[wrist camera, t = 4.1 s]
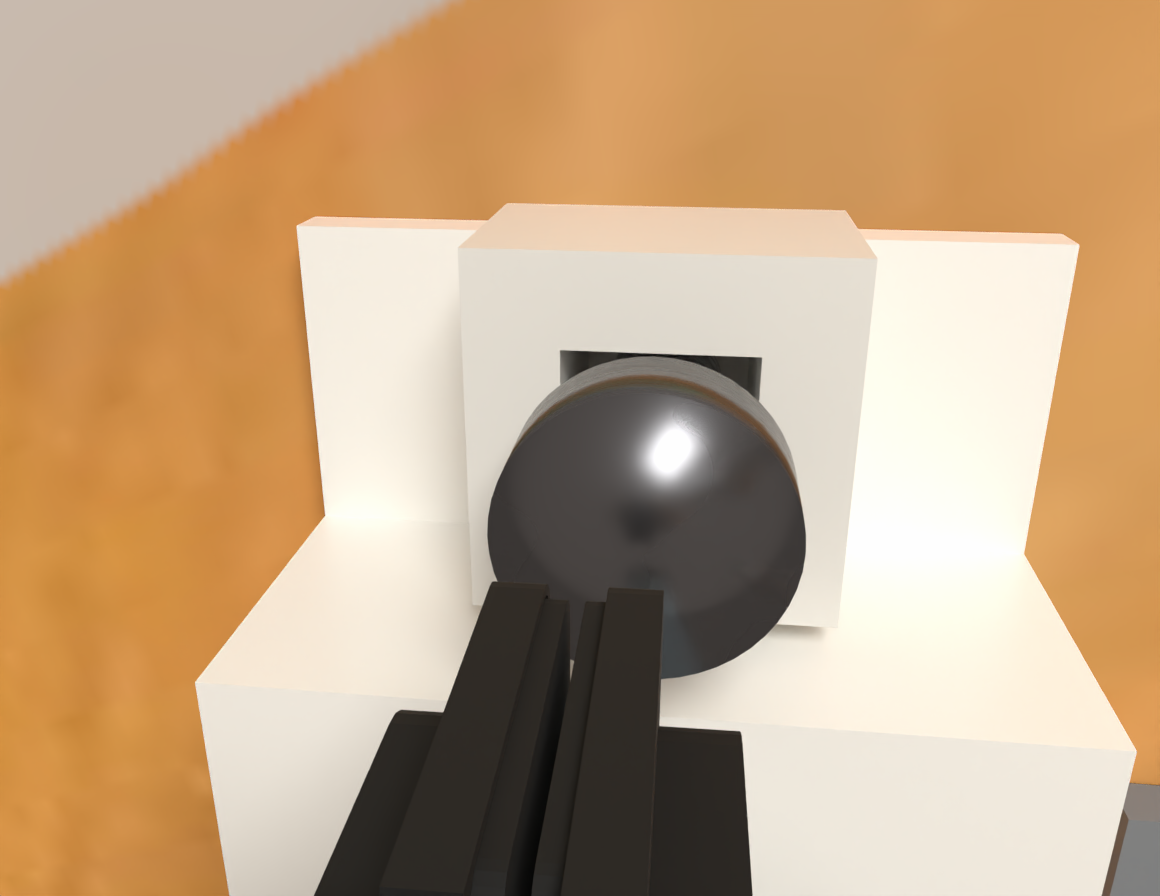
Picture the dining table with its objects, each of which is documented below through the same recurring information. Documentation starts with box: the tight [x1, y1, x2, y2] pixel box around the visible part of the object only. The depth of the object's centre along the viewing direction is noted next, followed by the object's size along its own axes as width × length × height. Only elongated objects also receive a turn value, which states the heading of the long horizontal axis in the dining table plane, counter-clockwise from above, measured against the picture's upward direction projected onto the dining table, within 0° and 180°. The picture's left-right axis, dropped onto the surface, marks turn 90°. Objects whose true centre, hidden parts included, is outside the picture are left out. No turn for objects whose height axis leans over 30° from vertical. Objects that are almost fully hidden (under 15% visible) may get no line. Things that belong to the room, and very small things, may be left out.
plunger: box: [487, 352, 806, 679], centre depth 16 cm, size 4×4×6 cm
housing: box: [195, 203, 1137, 896], centre depth 20 cm, size 20×14×7 cm
